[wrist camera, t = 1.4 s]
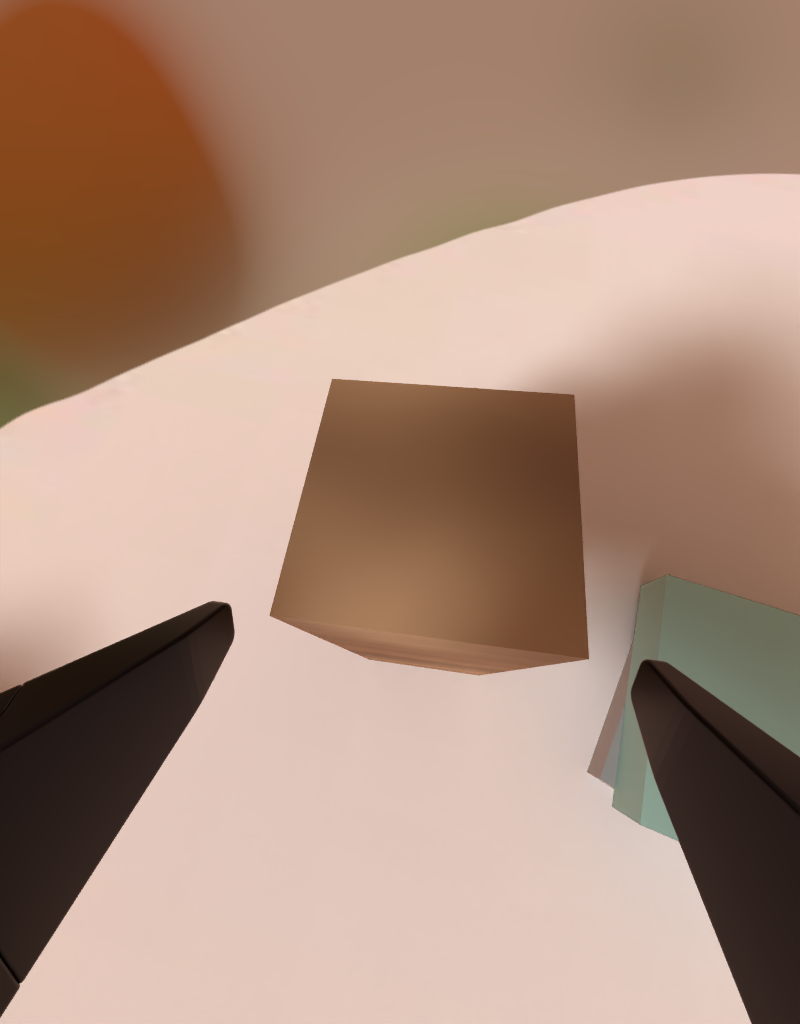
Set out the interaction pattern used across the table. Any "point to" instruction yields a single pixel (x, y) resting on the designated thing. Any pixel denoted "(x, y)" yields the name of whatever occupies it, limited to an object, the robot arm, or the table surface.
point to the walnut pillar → (441, 529)
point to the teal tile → (709, 674)
